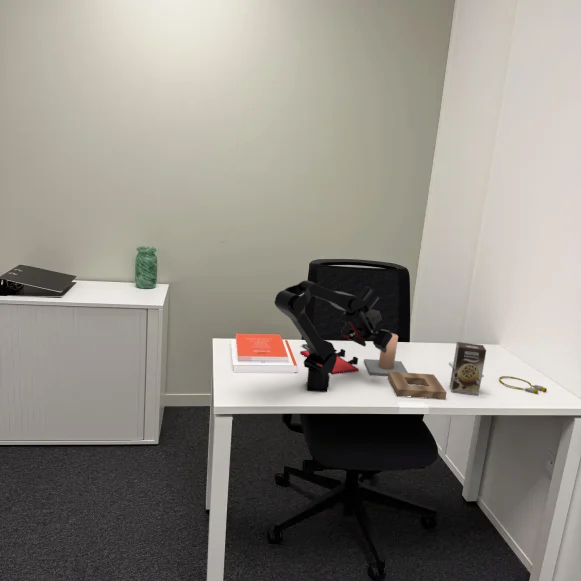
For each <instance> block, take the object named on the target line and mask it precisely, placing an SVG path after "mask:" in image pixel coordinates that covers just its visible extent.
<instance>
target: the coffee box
mask: <svg viewBox="0 0 581 581" xmlns="http://www.w3.org/2000/svg"><path fill="white" fill-rule="evenodd" d="M454 352H455V353H454V358H453V362H454V363H453V368H452V370H451V374H450V375H451V377H450V382H449V387H450V390H451V392H452V393H458V394H466V395H471V394H472V395H473V396H479V395H480V389H481V383H482V378H483V377H482V374H483V373H484V372H483V371H484V366H485V360H486V353H487V349H486V348H485V345H483V344H476V343H470V342H469V343H468V342H459V341H457V342H456V346H455V351H454Z"/></svg>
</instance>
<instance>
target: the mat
mask: <svg viewBox="0 0 581 581" xmlns="http://www.w3.org/2000/svg"><path fill="white" fill-rule="evenodd" d="M363 363H364V365H365V367H367V368H366V370H367V372H368V374H369V376H379V377H388V372H403V373H409V372H408V371H407V368H406V367H405V365H404V364H403V363H402V361H399V360H395V362H394V368H393V369H383V368H380V367H379V366H378V365H379V359H372V358H371V359H368V358H364V359H363Z"/></svg>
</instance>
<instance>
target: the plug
mask: <svg viewBox="0 0 581 581" xmlns="http://www.w3.org/2000/svg"><path fill="white" fill-rule="evenodd" d="M391 333H392V335H393V337H392V338H391V340H390V341H389V343H388V344H387V351H386V353H384V352H382V351H381V350H379V351H380V352H379V358H378V360H379V365H378V366H379V367H380V368H383V369H393V368H394V362H395V361H396V354H397V348H398V347H397V346H398V339H399V336H398V334H396V333H393V332H391Z"/></svg>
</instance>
